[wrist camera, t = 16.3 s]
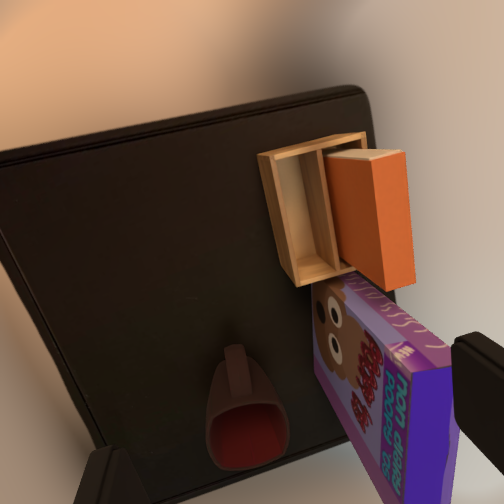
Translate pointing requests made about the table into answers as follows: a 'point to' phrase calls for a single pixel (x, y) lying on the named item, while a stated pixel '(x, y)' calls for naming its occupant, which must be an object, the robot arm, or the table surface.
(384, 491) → the cereal box
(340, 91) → the table surface
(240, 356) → the cup
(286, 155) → the book rack
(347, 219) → the book
